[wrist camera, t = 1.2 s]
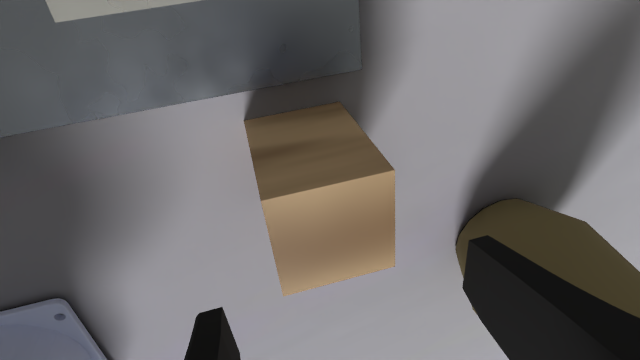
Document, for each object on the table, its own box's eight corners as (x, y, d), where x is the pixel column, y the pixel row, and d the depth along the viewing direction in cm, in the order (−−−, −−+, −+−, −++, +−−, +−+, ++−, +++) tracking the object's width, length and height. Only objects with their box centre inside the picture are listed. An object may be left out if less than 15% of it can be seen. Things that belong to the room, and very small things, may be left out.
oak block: (346, 181, 21) (395, 266, 16) (262, 200, 20) (283, 296, 15) (339, 101, 18) (395, 170, 13) (243, 120, 18) (260, 200, 12)
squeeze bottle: (571, 209, 27) (1034, 555, 12) (488, 290, 29) (783, 659, 14) (502, 160, 23) (1058, 582, 8) (414, 259, 25) (710, 717, 10)
